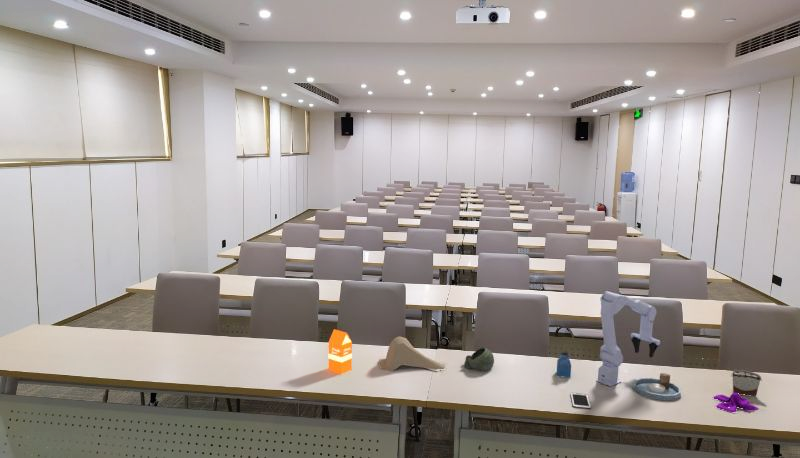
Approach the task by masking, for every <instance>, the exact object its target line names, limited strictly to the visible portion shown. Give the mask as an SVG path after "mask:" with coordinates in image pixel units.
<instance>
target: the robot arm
mask: <svg viewBox="0 0 800 458" xmlns="http://www.w3.org/2000/svg"><path fill="white" fill-rule="evenodd" d="M600 306H601V307H600V320H601V327H602V328H601V329H602V336H603V337H602V338H603V345H601V347H600V353H599V358H600V360H601V362H602V365H601V366H600V367H598V371H597V374H598V375H597V379H595V381H596V382H598V383H601V384H603V385H606V386H609V387H612V386H614V385H617V384H620V383H622V380H620V379H619V378H618V377H619V367H620V366H621V365H622V363H624V356H623V354H622V351H621V349H620V347H619V346H618V345H617V338H616V330H615V322H614V319H615V318H614V315H617V314H618V313H619V312H620V311H621V309H623V308H624V307H626V306H629V307H630V308H631V310H632V311H634V312H636V313H638V314H639V315H640V323H639V324H640V325H639V333H636V332H632V333H630V337H631V339H630V341H631V342H632V345H633V347H634V348H633V349H634V353H636V354H638V353H639V352H640V346H641V345H640V344H641V341H644V342H648V343H649V344H648V347H649V355H648V356H649V359H650V358H654V355H655V351H656V350H657V348H658V347H659V346H660V345H661V340H659V339H656V338H655V337H653V328H654V327H653V326H654V321H655V319H656V315H657V313H658V311H657V309H656V306H653V305H650V304H649V303H648V302H643V300H642V299H632V298H630V297H628V296H626V295H622V294H619V293H615V292H611V291H608V290H606V291H604V292H603V294H602V295H601V297H600Z"/></svg>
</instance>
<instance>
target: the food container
mask: <svg viewBox="0 0 800 458" xmlns="http://www.w3.org/2000/svg"><path fill="white" fill-rule="evenodd" d="M730 376H731V378H732V393H739V394H745V395H744V396H746V395H751V396H750V397H753V396H756V397H757V394H758V391H759V386H760V382H762V381H763V380H762V376H761V375H760V374H758V373H755V372H753V371H748V370H744V369H738V370H737V369H736V370H733V371H732V373H731V374H730Z"/></svg>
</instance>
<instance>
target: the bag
mask: <svg viewBox="0 0 800 458" xmlns="http://www.w3.org/2000/svg"><path fill="white" fill-rule="evenodd" d="M378 363H379V364H378V365H379V367H380V369H382V370H384V371H390V372H394V371H395V370H397V369H398V368H399V367H400V366H408V367H417V368H425V369H427V370H430V371H432V372H435V371H434V370H437V369H444V368H445V366H444V365H445V364H444V365H442V364H440V363H441V362H439V363H438V362H437V361H436V360H434V359H432V358H429V357H427V356H425V354H424V353H423V354H422V353H421V352H420V351H419V350H417V349H416V348H415V347H414V346H413V345H412V344H411V343H410V341H409V340H408V339H407V337H403V336H397V337H395V338H394V339H392V340H391V341H390V344H389V346H388V349H387V353H386V356H385V358H380V359H378Z"/></svg>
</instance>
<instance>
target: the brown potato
mask: <svg viewBox="0 0 800 458" xmlns="http://www.w3.org/2000/svg"><path fill="white" fill-rule="evenodd" d="M659 379H660V380H659V384H660V385H663V386H664V387H665V389H669V384H670V382H671V375H670V374H668V373H664V372H661V373H660V374H659Z"/></svg>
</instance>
